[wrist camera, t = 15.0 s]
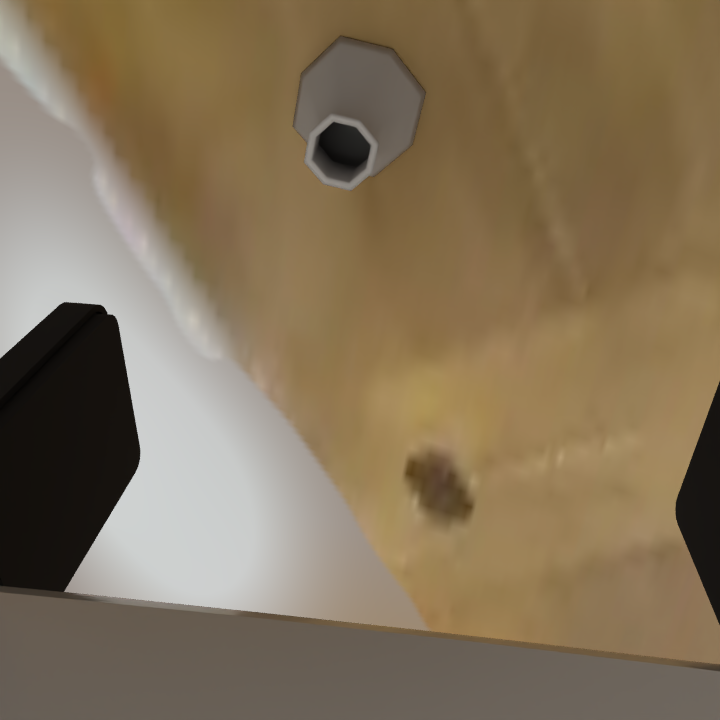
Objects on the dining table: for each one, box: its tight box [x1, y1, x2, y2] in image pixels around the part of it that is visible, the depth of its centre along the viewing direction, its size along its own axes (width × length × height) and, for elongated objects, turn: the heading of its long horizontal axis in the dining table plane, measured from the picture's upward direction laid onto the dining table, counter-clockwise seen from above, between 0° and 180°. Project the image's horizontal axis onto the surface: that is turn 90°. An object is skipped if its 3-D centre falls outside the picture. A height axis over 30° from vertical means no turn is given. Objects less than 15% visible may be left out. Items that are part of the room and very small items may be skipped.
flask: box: [293, 36, 426, 191], centre depth 33 cm, size 7×7×10 cm
